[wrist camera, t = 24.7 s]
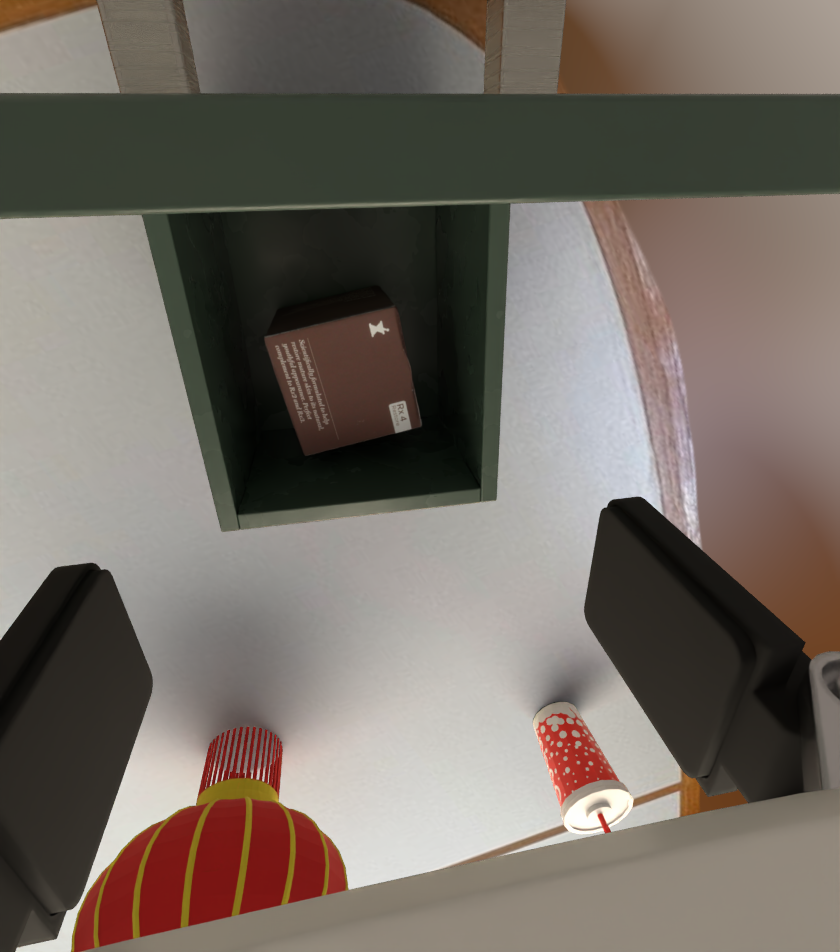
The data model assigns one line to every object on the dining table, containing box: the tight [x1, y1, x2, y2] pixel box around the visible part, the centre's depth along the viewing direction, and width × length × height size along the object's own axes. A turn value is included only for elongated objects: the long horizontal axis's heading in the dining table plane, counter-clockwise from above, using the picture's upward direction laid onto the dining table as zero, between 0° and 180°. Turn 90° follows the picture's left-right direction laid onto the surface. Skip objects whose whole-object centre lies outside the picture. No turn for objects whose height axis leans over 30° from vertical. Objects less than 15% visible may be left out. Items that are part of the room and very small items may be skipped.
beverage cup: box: [533, 702, 633, 834], centre depth 43 cm, size 6×6×14 cm
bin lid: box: [0, 0, 840, 219], centre depth 9 cm, size 14×13×5 cm
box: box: [264, 285, 422, 456], centre depth 26 cm, size 6×6×7 cm
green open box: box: [142, 204, 510, 532], centre depth 25 cm, size 14×13×11 cm
